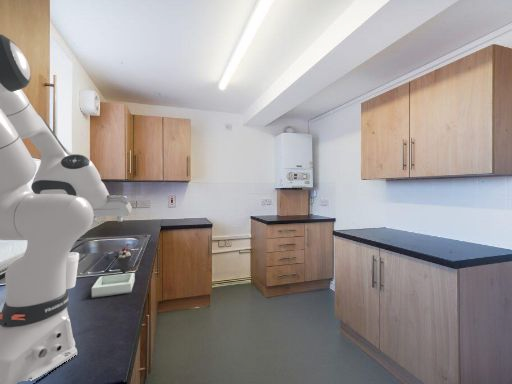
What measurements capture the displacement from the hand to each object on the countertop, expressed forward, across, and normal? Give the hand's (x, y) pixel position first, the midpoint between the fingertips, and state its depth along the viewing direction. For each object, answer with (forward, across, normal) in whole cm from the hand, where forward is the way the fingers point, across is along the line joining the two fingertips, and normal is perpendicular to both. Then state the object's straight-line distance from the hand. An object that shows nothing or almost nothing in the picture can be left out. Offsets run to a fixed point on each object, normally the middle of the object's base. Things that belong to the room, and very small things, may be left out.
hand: (107, 220), depth 100 cm
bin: (+22, -1, +18) cm, 28 cm away
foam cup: (+25, +20, +15) cm, 35 cm away
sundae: (+30, 0, +10) cm, 31 cm away
